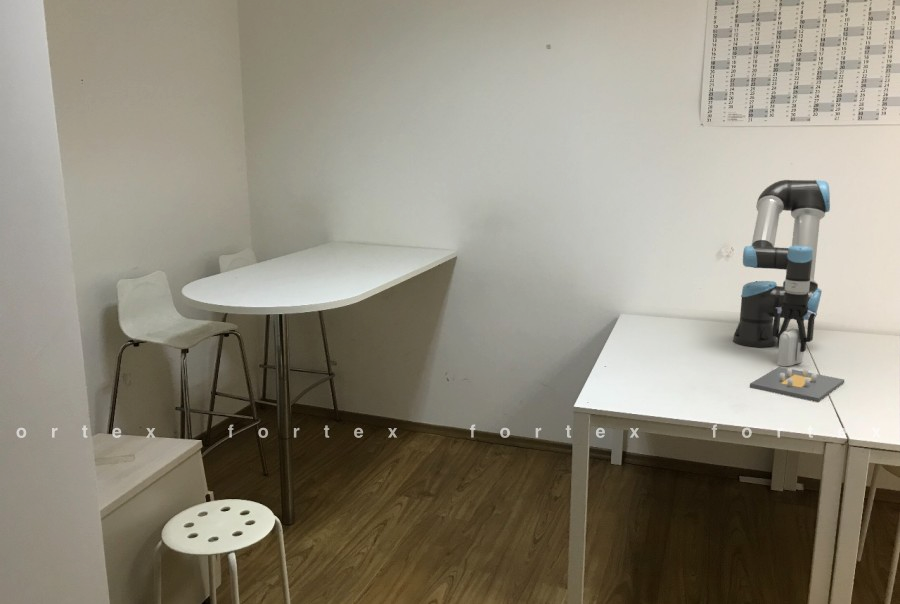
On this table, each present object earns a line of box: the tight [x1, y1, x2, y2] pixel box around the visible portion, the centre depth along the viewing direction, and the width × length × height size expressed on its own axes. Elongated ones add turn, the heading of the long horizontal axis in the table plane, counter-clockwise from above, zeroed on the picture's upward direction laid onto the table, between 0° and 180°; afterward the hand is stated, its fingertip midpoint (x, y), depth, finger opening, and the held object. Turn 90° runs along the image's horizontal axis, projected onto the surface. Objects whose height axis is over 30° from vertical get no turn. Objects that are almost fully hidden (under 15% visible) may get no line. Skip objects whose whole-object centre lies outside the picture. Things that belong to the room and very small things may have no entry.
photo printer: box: [776, 327, 804, 367], centre depth 249 cm, size 10×4×12 cm, turn 124°
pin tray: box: [749, 366, 845, 403], centre depth 228 cm, size 20×24×4 cm
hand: (790, 358), depth 250 cm, fingers closed on photo printer, 5 cm apart
